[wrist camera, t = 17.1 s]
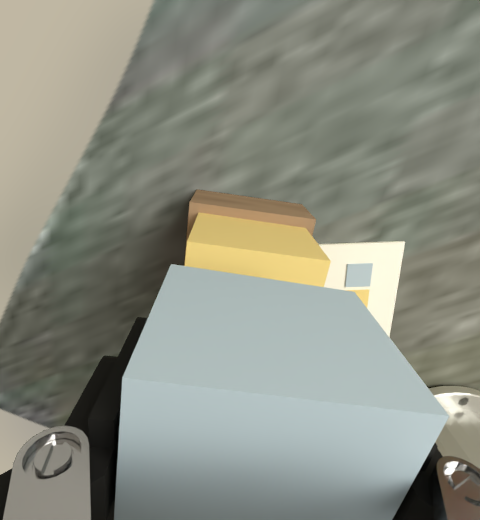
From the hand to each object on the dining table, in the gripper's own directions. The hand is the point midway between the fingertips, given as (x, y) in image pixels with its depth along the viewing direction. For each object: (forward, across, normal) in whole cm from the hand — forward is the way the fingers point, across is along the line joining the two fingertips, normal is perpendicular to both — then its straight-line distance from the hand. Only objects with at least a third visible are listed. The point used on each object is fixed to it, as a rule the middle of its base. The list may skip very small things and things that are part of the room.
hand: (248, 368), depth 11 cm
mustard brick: (+9, 0, 0) cm, 9 cm away
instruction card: (+13, -9, +3) cm, 16 cm away
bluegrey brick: (+1, 0, 0) cm, 1 cm away
